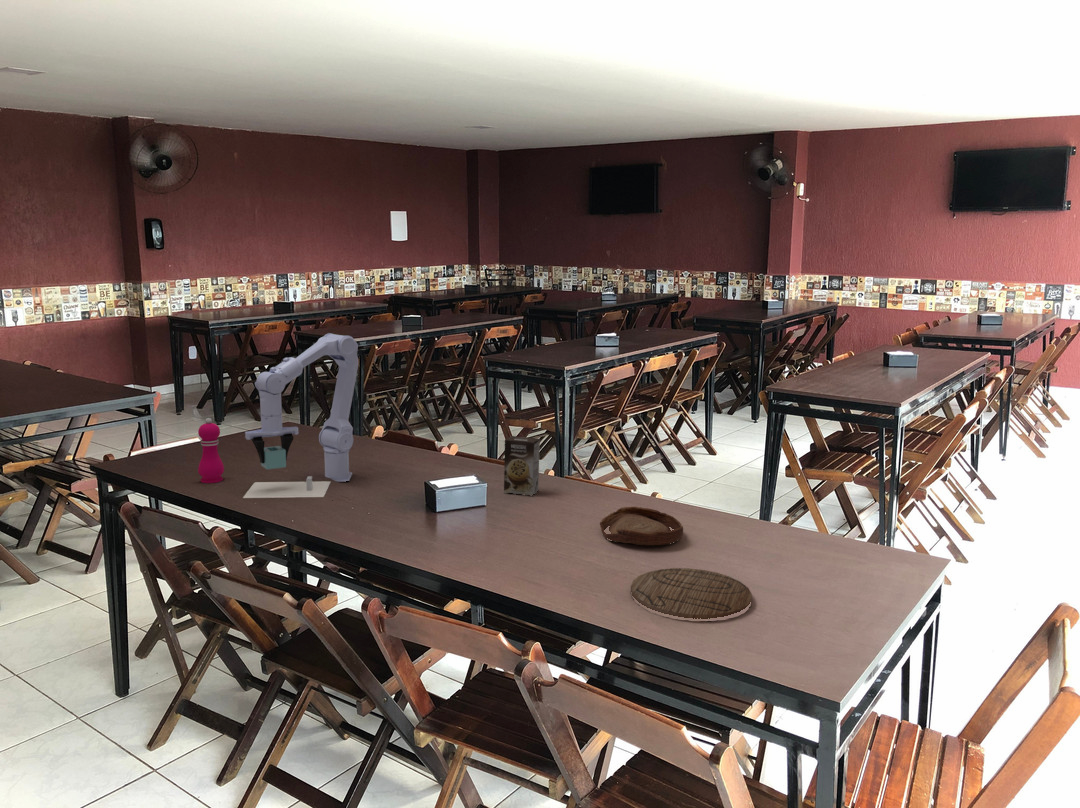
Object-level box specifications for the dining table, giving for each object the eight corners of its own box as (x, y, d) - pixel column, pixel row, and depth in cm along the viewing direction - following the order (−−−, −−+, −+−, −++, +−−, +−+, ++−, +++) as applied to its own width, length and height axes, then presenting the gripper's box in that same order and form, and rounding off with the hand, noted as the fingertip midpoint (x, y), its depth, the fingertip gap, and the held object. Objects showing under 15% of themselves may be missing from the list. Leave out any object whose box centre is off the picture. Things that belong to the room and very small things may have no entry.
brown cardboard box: (503, 493, 259) (503, 439, 256) (510, 488, 265) (510, 435, 262) (532, 496, 256) (533, 442, 253) (539, 490, 262) (540, 437, 259)
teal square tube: (260, 465, 254) (260, 448, 253) (280, 462, 257) (279, 445, 256) (266, 469, 250) (265, 452, 249) (286, 467, 253) (285, 449, 252)
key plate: (254, 486, 262) (254, 471, 261) (330, 485, 264) (330, 470, 264) (242, 502, 246) (242, 486, 246) (323, 500, 249) (323, 485, 248)
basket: (586, 527, 231) (587, 508, 230) (655, 519, 238) (656, 501, 237) (624, 556, 210) (625, 536, 209) (698, 547, 217) (699, 527, 216)
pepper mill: (229, 481, 267) (225, 416, 263) (218, 487, 260) (214, 420, 256) (205, 480, 268) (202, 415, 264) (194, 486, 260) (190, 420, 257)
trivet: (741, 632, 170) (741, 623, 170) (615, 611, 179) (616, 602, 179) (759, 586, 193) (760, 578, 193) (647, 569, 202) (648, 561, 202)
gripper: (248, 419, 244) (251, 467, 246) (301, 414, 251) (302, 461, 254) (242, 415, 249) (244, 461, 252) (293, 410, 257) (295, 455, 260)
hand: (273, 461), depth 253 cm, fingers closed on teal square tube, 6 cm apart
